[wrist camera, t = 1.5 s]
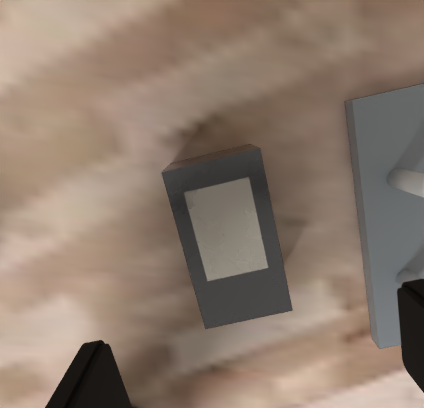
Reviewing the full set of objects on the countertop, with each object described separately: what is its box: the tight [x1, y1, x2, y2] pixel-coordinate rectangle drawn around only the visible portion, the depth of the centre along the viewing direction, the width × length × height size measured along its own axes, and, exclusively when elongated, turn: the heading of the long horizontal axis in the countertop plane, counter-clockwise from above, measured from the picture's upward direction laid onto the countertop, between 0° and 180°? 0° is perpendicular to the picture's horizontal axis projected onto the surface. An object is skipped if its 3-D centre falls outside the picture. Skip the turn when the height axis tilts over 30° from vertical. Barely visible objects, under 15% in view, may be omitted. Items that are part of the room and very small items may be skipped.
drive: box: [162, 144, 293, 329], centre depth 22 cm, size 11×6×5 cm, turn 14°
